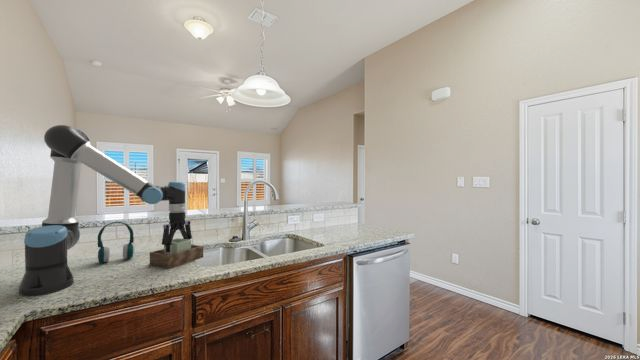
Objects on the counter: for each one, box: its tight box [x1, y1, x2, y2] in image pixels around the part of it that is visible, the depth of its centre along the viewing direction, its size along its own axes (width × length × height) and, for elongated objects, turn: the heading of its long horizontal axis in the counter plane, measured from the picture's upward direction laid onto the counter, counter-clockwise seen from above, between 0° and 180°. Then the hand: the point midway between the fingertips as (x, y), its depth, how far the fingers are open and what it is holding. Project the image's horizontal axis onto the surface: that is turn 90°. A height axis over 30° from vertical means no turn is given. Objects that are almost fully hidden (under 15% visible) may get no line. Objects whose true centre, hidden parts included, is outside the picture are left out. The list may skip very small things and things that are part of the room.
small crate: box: [163, 237, 192, 255], centre depth 140 cm, size 8×10×8 cm
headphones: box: [96, 221, 135, 264], centre depth 140 cm, size 8×15×20 cm, turn 124°
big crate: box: [149, 243, 204, 270], centre depth 140 cm, size 20×14×6 cm
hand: (177, 255), depth 140 cm, fingers closed on small crate, 8 cm apart
